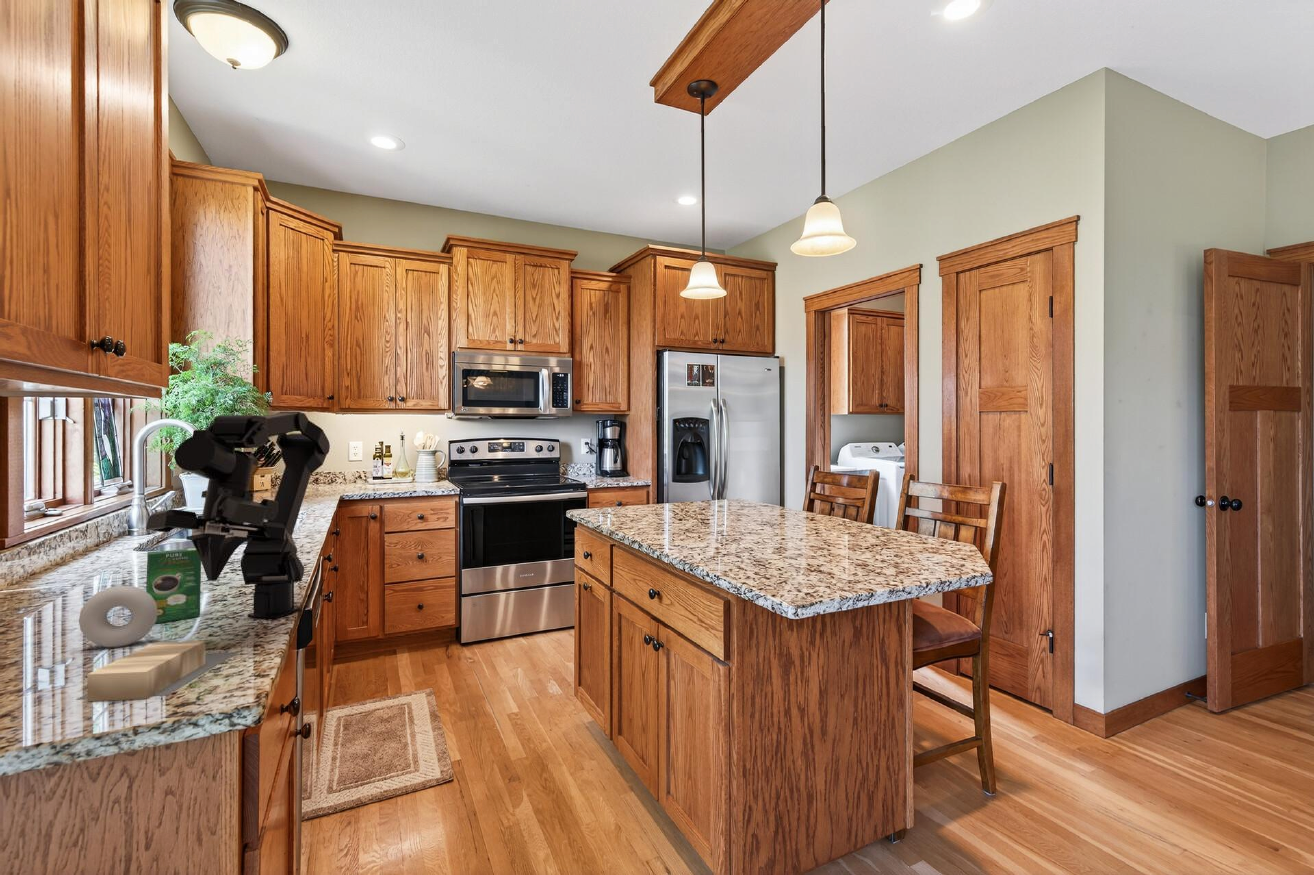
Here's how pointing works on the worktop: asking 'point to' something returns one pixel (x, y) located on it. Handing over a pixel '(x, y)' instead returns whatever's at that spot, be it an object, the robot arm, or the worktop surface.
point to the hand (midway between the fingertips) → (212, 580)
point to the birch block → (145, 671)
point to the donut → (118, 636)
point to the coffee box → (174, 583)
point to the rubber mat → (192, 673)
